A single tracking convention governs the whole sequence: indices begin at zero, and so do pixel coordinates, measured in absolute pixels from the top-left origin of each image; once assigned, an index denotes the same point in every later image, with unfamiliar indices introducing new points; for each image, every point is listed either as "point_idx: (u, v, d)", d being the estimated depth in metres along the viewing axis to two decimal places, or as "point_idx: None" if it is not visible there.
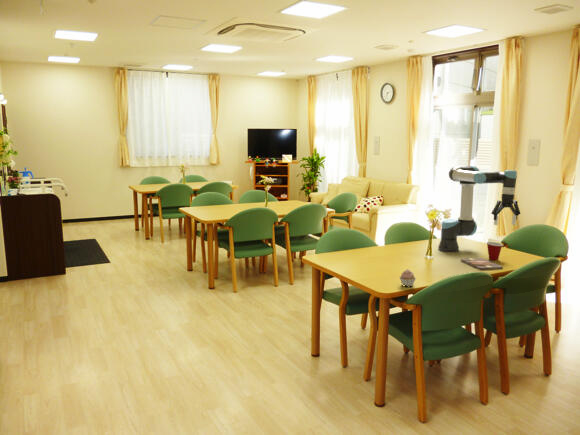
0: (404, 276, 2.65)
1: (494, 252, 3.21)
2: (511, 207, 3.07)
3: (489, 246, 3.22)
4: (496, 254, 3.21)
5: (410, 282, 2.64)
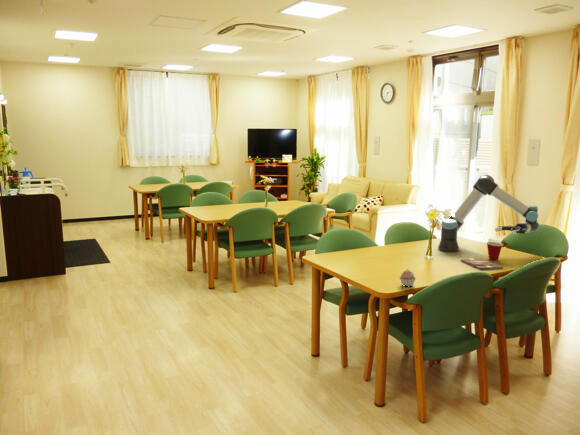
0: (404, 276, 2.65)
1: (494, 252, 3.21)
2: (511, 230, 3.36)
3: (489, 246, 3.22)
4: (496, 254, 3.21)
5: (410, 282, 2.64)
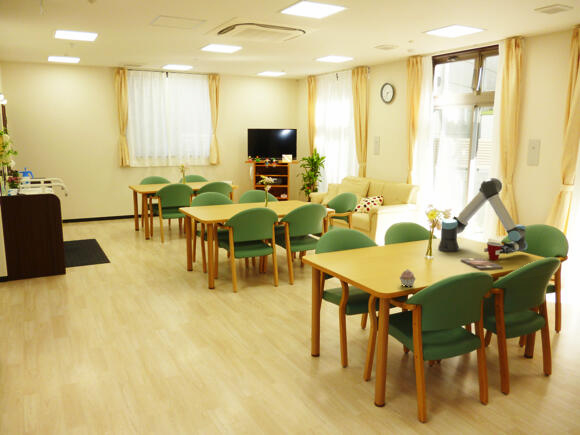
0: (404, 276, 2.65)
1: (494, 252, 3.21)
2: None
3: (489, 246, 3.22)
4: None
5: (410, 282, 2.64)
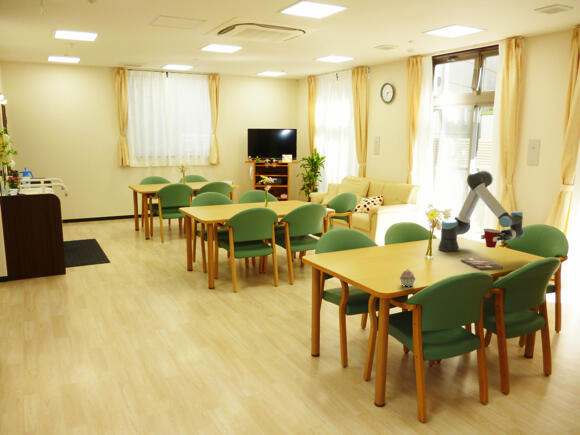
0: (404, 276, 2.65)
1: (491, 239, 3.11)
2: None
3: (486, 233, 3.12)
4: (493, 241, 3.11)
5: (410, 282, 2.64)
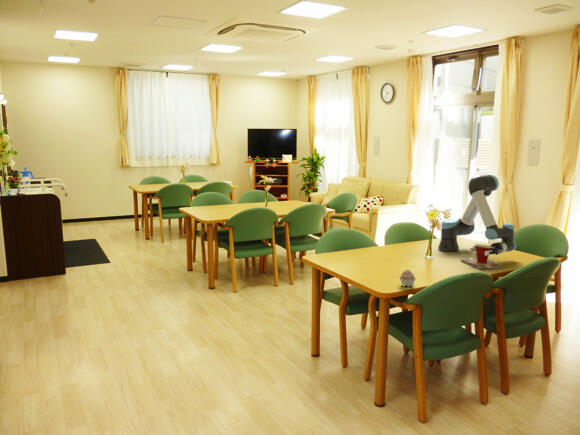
0: (404, 276, 2.65)
1: (482, 254, 3.05)
2: None
3: (477, 248, 3.07)
4: (484, 256, 3.05)
5: (410, 282, 2.64)
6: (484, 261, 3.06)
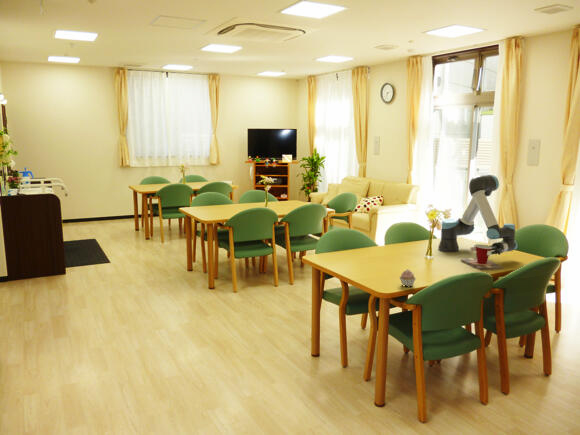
0: (404, 276, 2.65)
1: (482, 255, 3.05)
2: None
3: (477, 249, 3.06)
4: (484, 257, 3.05)
5: (410, 282, 2.64)
6: (484, 262, 3.06)
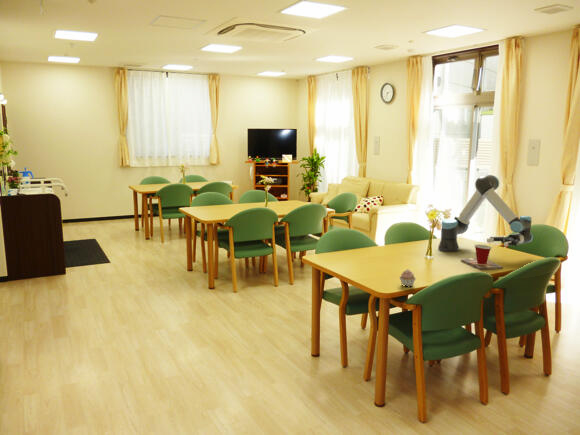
0: (404, 276, 2.65)
1: (482, 255, 3.05)
2: (503, 241, 3.23)
3: (477, 249, 3.06)
4: (484, 257, 3.05)
5: (410, 282, 2.64)
6: (484, 262, 3.06)
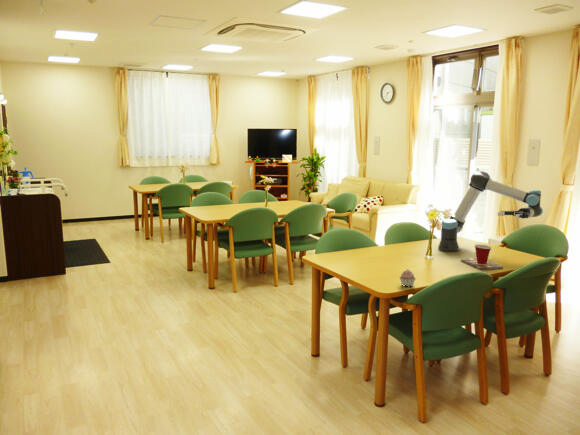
0: (404, 276, 2.65)
1: (482, 255, 3.05)
2: (513, 214, 3.27)
3: (477, 249, 3.06)
4: (484, 257, 3.05)
5: (410, 282, 2.64)
6: (484, 262, 3.06)
